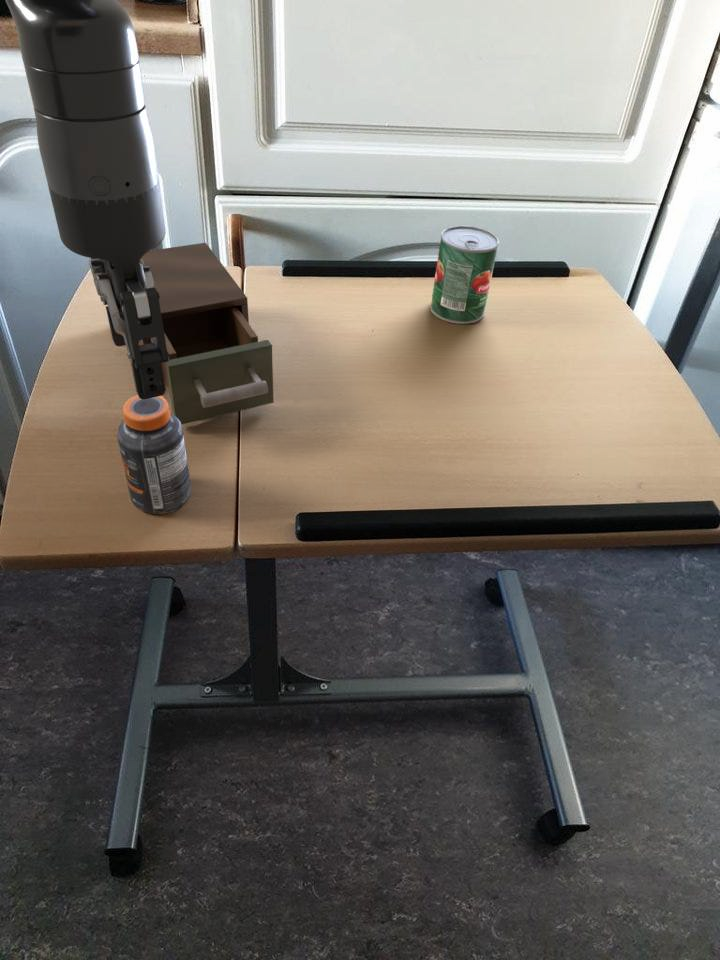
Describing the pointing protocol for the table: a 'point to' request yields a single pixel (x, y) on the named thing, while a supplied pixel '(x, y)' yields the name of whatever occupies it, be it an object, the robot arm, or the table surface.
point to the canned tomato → (463, 274)
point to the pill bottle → (153, 455)
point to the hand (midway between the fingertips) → (138, 367)
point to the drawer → (215, 365)
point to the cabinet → (192, 282)
